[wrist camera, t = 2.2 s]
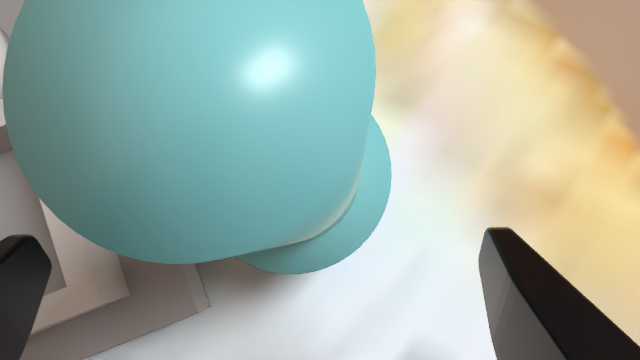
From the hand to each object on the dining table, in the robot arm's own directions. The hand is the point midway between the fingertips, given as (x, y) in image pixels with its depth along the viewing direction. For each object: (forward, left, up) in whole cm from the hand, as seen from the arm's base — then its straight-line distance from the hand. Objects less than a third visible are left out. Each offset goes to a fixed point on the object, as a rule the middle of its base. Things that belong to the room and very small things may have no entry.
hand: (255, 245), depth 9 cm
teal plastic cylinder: (+2, +1, -10) cm, 10 cm away
